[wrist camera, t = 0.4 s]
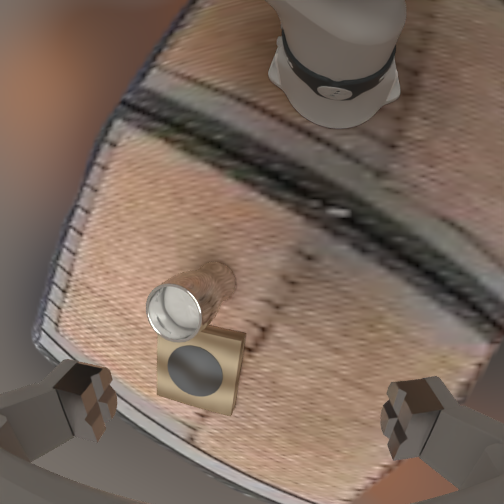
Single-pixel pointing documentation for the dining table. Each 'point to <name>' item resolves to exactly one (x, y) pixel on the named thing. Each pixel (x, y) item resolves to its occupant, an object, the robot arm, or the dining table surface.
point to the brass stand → (202, 369)
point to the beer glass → (189, 301)
